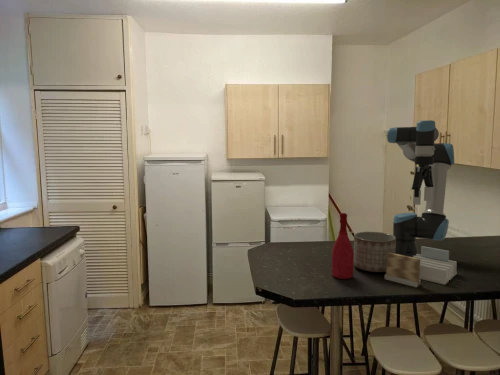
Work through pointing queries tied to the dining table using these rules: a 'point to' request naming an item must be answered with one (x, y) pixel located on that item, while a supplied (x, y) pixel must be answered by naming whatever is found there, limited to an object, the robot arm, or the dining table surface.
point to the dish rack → (436, 265)
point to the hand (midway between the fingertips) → (422, 202)
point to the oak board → (403, 267)
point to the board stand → (402, 280)
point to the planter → (373, 250)
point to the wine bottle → (342, 253)
